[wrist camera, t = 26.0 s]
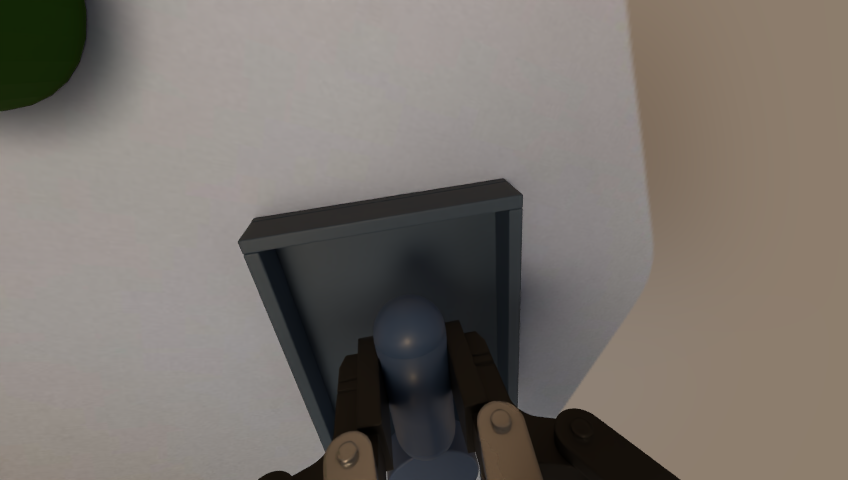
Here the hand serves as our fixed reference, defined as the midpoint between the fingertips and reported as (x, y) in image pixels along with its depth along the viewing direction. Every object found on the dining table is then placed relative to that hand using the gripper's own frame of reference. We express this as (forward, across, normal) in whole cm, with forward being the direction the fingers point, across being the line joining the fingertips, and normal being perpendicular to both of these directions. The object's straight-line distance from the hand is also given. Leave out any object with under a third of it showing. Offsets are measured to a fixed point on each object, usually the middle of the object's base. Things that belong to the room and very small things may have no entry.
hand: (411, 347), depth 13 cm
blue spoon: (0, 0, +3) cm, 3 cm away
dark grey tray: (+5, 0, +3) cm, 6 cm away
